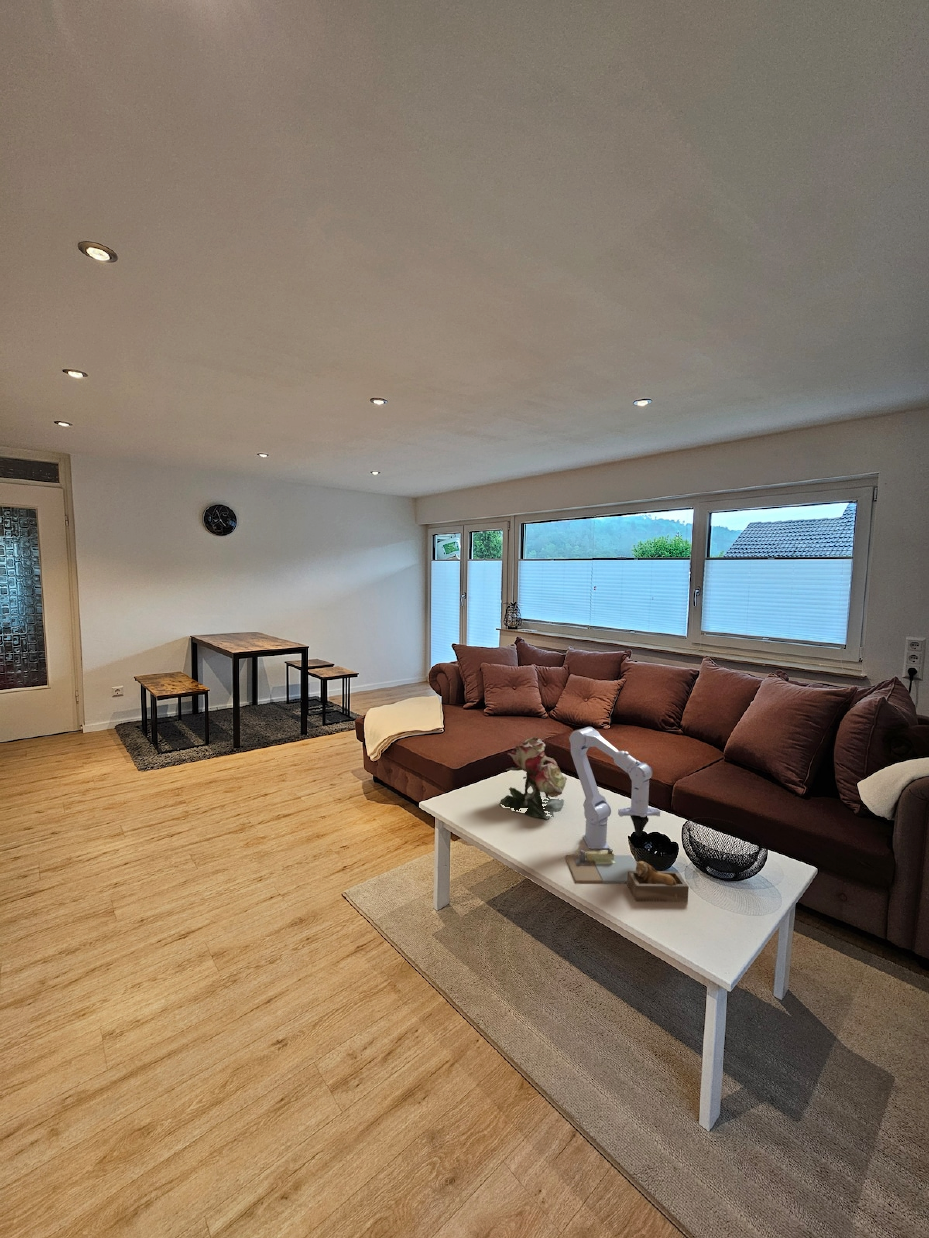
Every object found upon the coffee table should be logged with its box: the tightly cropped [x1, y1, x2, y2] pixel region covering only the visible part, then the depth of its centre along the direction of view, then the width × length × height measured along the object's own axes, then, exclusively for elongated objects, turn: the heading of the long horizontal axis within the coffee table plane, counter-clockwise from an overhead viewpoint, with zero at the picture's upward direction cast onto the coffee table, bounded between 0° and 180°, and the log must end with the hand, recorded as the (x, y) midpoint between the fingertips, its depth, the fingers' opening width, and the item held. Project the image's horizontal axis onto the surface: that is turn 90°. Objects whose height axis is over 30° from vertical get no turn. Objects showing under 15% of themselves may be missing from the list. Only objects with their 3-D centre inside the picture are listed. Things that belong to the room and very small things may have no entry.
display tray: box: [626, 870, 690, 903], centre depth 165 cm, size 8×16×5 cm, turn 91°
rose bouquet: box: [499, 736, 568, 821], centre depth 228 cm, size 26×29×30 cm
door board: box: [564, 849, 637, 884], centre depth 178 cm, size 16×24×4 cm, turn 91°
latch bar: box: [585, 848, 615, 861], centre depth 182 cm, size 10×2×3 cm, turn 93°
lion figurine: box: [636, 860, 677, 902], centre depth 165 cm, size 15×5×9 cm, turn 66°
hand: (638, 835), depth 183 cm, fingers closed
